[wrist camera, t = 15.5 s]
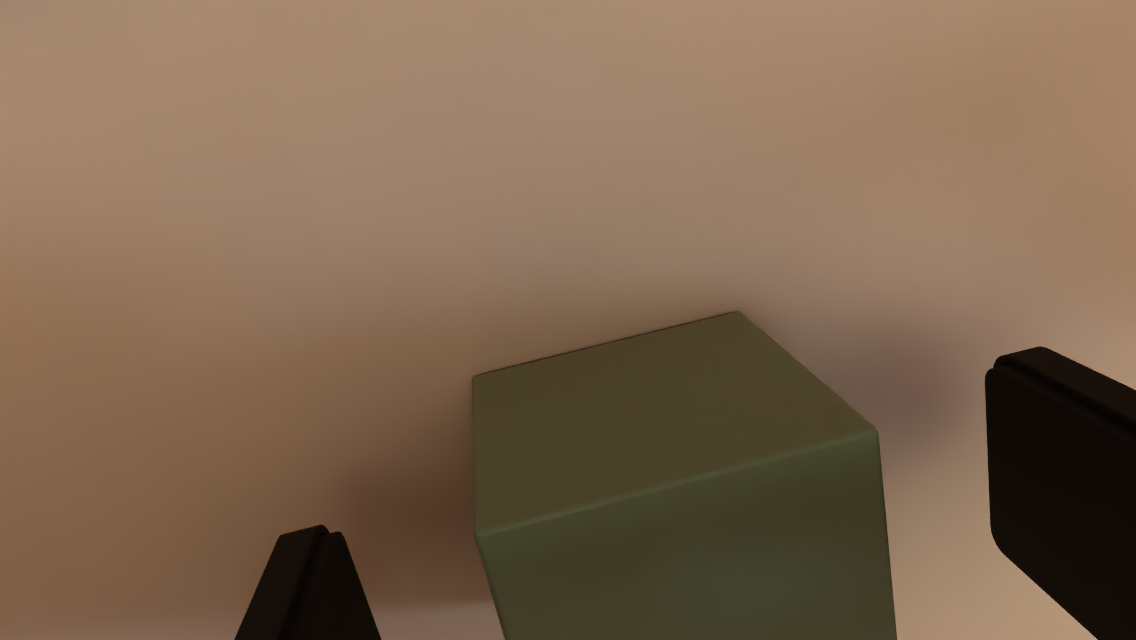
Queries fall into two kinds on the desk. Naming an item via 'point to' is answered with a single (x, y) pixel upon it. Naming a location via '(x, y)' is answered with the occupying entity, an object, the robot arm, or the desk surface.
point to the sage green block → (679, 494)
